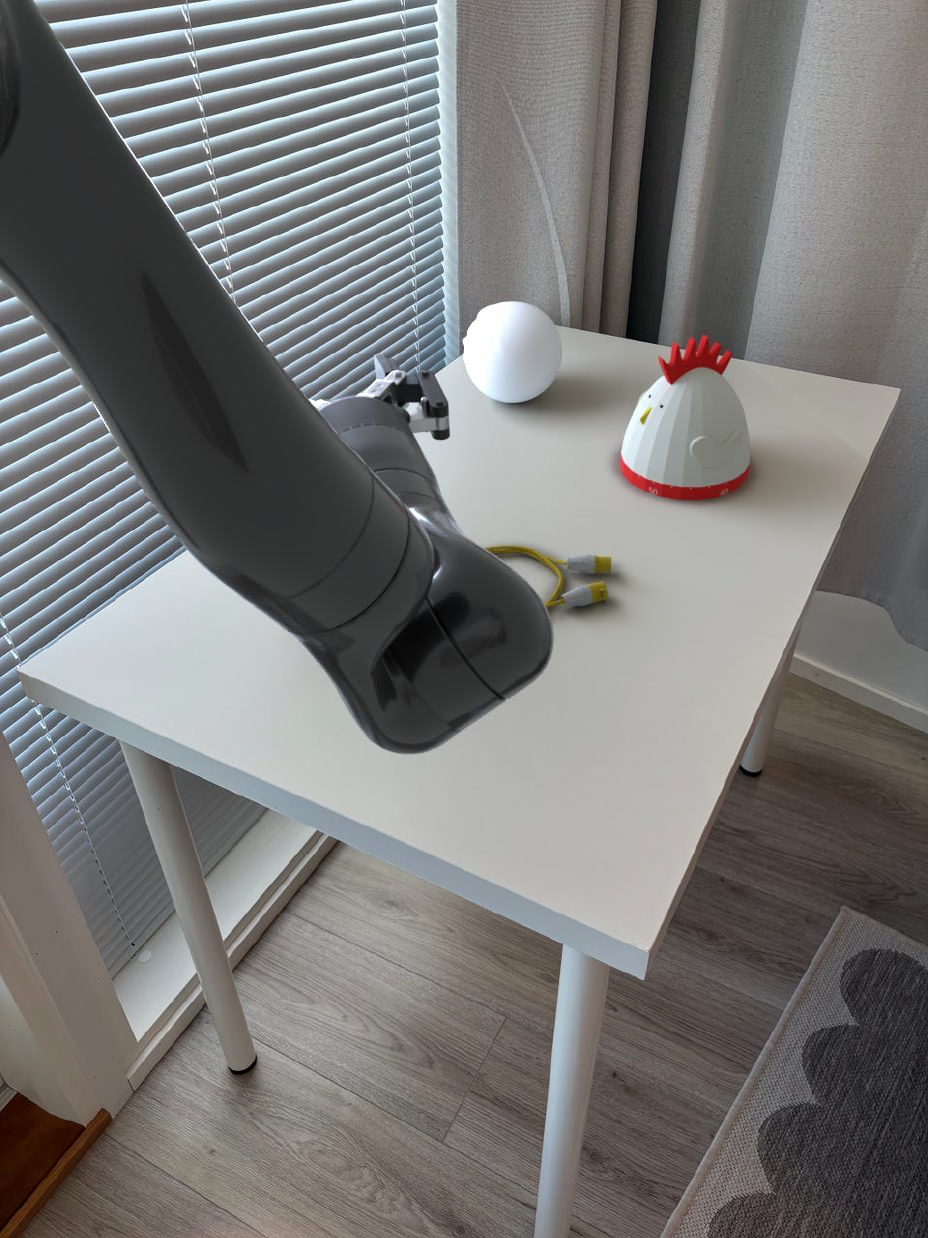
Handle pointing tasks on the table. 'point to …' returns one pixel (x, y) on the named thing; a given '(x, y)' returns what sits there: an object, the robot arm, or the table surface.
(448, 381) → the table surface
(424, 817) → the table surface
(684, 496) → the kitchen timer
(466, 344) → the decorative ball
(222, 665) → the table surface
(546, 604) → the yellow coiled cord
